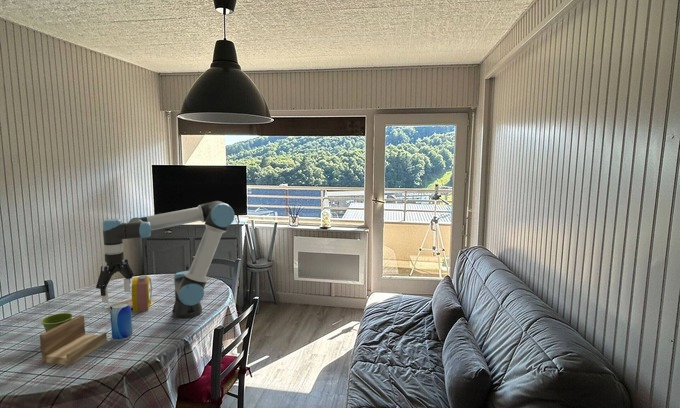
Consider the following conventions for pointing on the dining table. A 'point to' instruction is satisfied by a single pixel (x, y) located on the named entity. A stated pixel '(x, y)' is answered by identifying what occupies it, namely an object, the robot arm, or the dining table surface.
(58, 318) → the plant pot
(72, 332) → the cleat board
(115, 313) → the beer can
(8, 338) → the dining table surface
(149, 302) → the alarm clock
